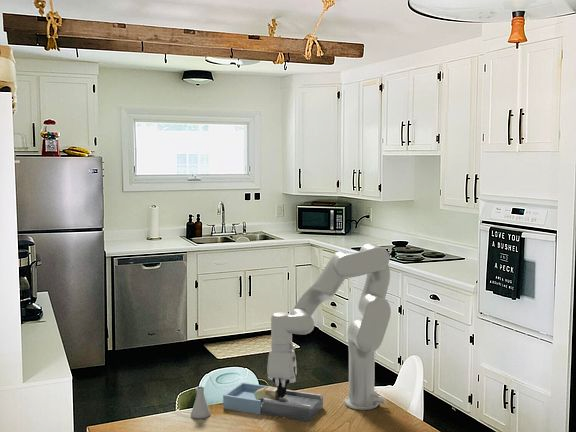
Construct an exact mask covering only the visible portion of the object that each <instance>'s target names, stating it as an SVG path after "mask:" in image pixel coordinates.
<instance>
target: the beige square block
mask: <svg viewBox="0 0 576 432" xmlns="http://www.w3.org/2000/svg"><path fill="white" fill-rule="evenodd" d="M265 398H269V399H276V398H278V394H277V386H270V387H268V388H267V389H266V390H265Z"/></svg>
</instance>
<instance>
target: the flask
mask: <svg viewBox="0 0 576 432" xmlns="http://www.w3.org/2000/svg"><path fill="white" fill-rule="evenodd" d="M195 391H196V395H195V400H194V403H193V406H192V410H191V412H190V418H195V419H206V418H208V417H209V416H211V410H210V408H209V405H208V403H207V399H206V397H205V386H196V387H195Z"/></svg>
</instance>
